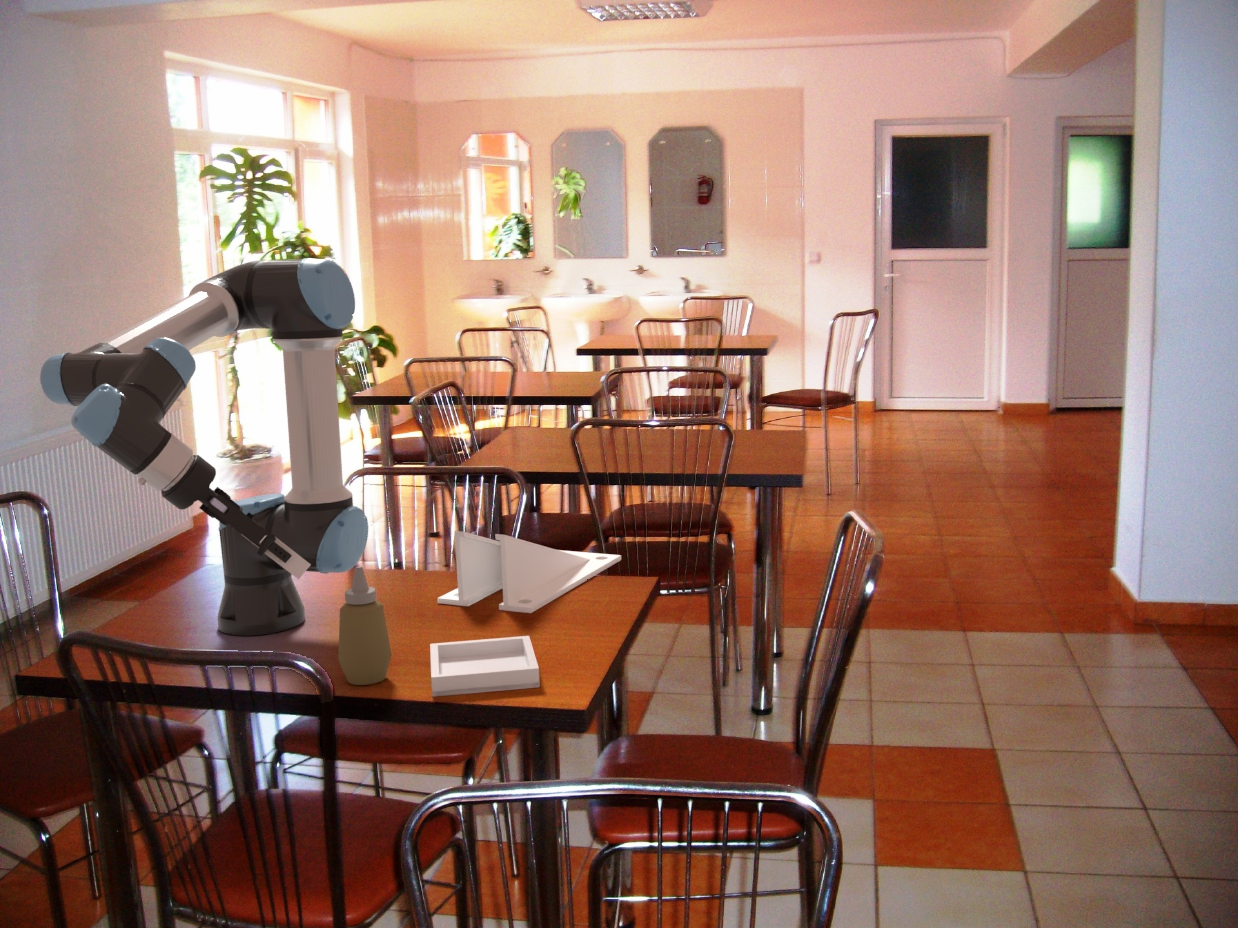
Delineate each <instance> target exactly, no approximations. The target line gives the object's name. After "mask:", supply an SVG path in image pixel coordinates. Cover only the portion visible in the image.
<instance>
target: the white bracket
mask: <svg viewBox="0 0 1238 928" xmlns="http://www.w3.org/2000/svg"><path fill="white" fill-rule="evenodd" d="M494 536H495V539H491V538H488V537H486V536H485V537H484V536H481V535H477V534H474V533H470V532H466V531H458V530H455V531H454V542H455V543H454V544H455V559H456V562H455V563H456V577H457V579H456V580H457V588H455V589H453V590H451V591H449V592H447V593H445V594H443V595H441V596H439V597H437V598H436V599H437V604H442V605H443V604H444V605H450V606H452V605H453V606H461V607H470V606H472V605H473V604H476V603H477V602H479V601H481V600H483V599H485V598H487V597H489V596H491V595H492V594H495V593H497V592H499V591H500V590H502V600H503V601H502V602H501V603H499V604H498V610H499V611H506V612H507V611H508V612H514V613H515V612H516V613H524V614H527V613H528V614H532V613H534V612H535V611H537V610H538V609H540V608H542V607H544V606H546V605H547V604H549V603H551V602H553V601H554V600H555V599H558V598H559V597H561V596H562V595H564V594H566V593H567V592H570V591H571V590H572V589H574V588H576V587H579V585H581V584H583V583H585V582H587V581H588V580H590V579H591V578H593V577H594V576H597V575H598V574H600V573H601V572H603V571H605V570H607V569H608V568H610V567H612V566H613V565H615V564H617V563H618V562H620V561H622V555H620V554H609V553H599V552H587V551H586V552H585V551H576V550H575V551H572V550H561V549H555V548H551V547H548V546H544V545H541V544H538V543H534V542H530V541H528V540H527V541H526V540H524V539H520V538H517V537H514V536H510V535H507V534H502V533H501V534H498V533H495V534H494ZM587 579H588V580H587Z"/></svg>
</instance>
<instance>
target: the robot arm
mask: <svg viewBox="0 0 1238 928" xmlns="http://www.w3.org/2000/svg"><path fill="white" fill-rule="evenodd" d="M354 292H355V291H354V287H353V286H352V282H351V280H350V278H349V277H348V274H347V273H345V271H344V269H343V268H342V267H341V266H340V265H339V264H338V263H336V262H334V261H333V260H330V259H322V258H311V257H307V258H298V259H296V258H295V259H292V258H291V259H272V260H270V259H269V260H266V259H263V260H262V259H261V260H254V261H249V262H245V263H241V264H238V265H236V266H234V267H232V268H231V267H230V268H229V269H227V270H224V271H222V272H220V273H218V274H216V275H214V276H212V277H209V278H207V279H205V280H204V281H201V282H200V283H197V284H196V285H195V286H193V287H192V289H190V292H189V294H188V296H186V297H184V298H182V299H181V300H179V301H177V302H175V303H173V304H171V305H169V306H167V307H165V308H163V309H162V310H159V311H157V312H156V313H153V314H152V315H150V316H148V317H146V318H143V319H142V320H140V321H139V322H136V323H135V324H132V325H130V326H129V327H127V328H125V329H123V330H120V331H118V332H117V333H115V334H113V335H111V336H109V337H108V338H106V339H104V340H102V341H100V342H98V343H96V344H94V345H92V346H91V345H90V346H89V347H88V348H86V349H83V350H81V351H79V352H75V353H73V352H64V353H57V354H53V355H51V356H49V357H48V358H47V359H46V360H45V361H44V362H43V364H42V366H41V370H40V374H39V381H40V385H41V389H42V391H43V393H44V396H46V397H47V399H49V400H50V401H51V402H52V403H55V404H57V405H69V406H72V407H76V409H75V410H74V412H73V413H72V415H71V420H70V421H71V422H70V423H71V425H72V427H73V428H74V429H75V430H76V432H78V433H79V434H80V435H81V436H83V438H85V440H87V441H89V443H90V444H91V445H92V446H93V447H95V448H97V449H99V450H101V451H102V452H103V453H104V454H106V455H107V456H108V457H110V458H111V459H112V460H114V461H115V462H116V463H117V464H119V465H121V466H122V467H123V468H125V469H126V470H127V471H128V472H130V473H131V474H133V475H135V477H137V478H139V479H138V481H137V484H138V485H139V486H141V487H143V486H145V484H147V486H148V487H150V488H151V489H152V490H154V491H155V492H160V491H161V497H163V499H164V500H167V502H169V503H171V505H173V506H174V507H175V508H176V509H178V510H182V511H183V510H186V509H189V508H190V507H191V506H193V505H194V503H195V502H197V501H198V502H200V503H201V504H200V506H199V507H198V509H199V510H200V511H202V512H204V513H205V515H207V516H209V517H210V518H212V519H215V520H217V521H218V523H219V525H218V531H219V539H220V541H219V542H220V550H221V560H222V570H223V580H224V587H223V592H222V596H221V601H220V605H219V609H218V613H217V625H218V626H217V628H218V630H219V631H220V632H222V633H223V634H227V635H232V636H259V635H261V636H262V635H268V634H273V633H279V632H282V631H283V632H284V631H286V630H290V629H292V628H295V627H297V626H300V625H301V624H302V623H304V621H305V620H306V614H305V605H304V603H303V600H302V598H301V596H300V594H299V592H298V590H297V587H296V585H295V581H294V580H293V577H295V578H296V579H297V580H300V579H301V577H302V576H303V575H304V574H305V573H306V572H314V573H320V574H326V575H327V574H329V573H333V574H335V573H337V574H339V573H340V574H341V573H346V572H348V571H350V570H352V569H353V568H355V566H356V565H357V564H358V562H360V560H361V558H362V555H363V554H364V552H365V549H366V546H367V542H368V538H369V522H368V517H367V516H366V514H365V512H364V510H363V509H361V508H360V507H358V506H356V505H354V502H353V493H352V491H350V490H349V489H348V488H347V487H345V485H344V484H343V483H344V482H343V467H342V465H343V464H342V447H341V433H340V420H339V417H340V415H339V402H338V401H339V400H338V387H337V386H338V385H337V382H338V381H337V370H336V367H337V366H336V353H335V349H336V346H337V345H338V344H339V343H340V342H341V341H342V340H343V336H344V335H343V329H345V328H346V327H347V326H349V325H350V324H351V323H352V321H353V318H354V316H353V315H354V314H355V311H356V310H355V309H356V298H355V293H354ZM254 329H256V330H257V329H268V330H271V332H272V334H271V335H272V341H273V342H274V343H275V344H276V345H277V346H278V347H279V348H281V351H282V358H283V371H284V372H283V373H284V385H285V387H284V388H285V401H286V403H285V404H286V414H287V415H286V417H287V428H288V429H287V430H288V443H289V456H290V457H289V459H290V460H289V461H290V476H291V489H290V490H289V491H288V493H287V494H286V495H284V494H281V493H270V494H269V493H268V494H261V495H256V496H251V497H246V498H245V497H244V498H241V499H237V500H233V499H232V498H231V496H230V495H229V493H227V492H225V491H224V490H222V489H221V487H219V486H217V487H215V489H214V490H213V489H212V488H210V486H211V484H212V483H213V482H214V480H215V478H216V475H217V470H216V468H215V467H214V466H213V465H211V464H210V463H209V462H208V461H206V460H205V458H203V457H202V456H200V455H199V454H197V455H196V454H194V452H193V449H192V448H191V447H189V446H188V445H187V444H186V443H185V442H184V441H182V440H181V439H179V438H178V437H177V436H176V435H174V434H173V433H172V432H170V431H169V430H167V429H166V428H165V427H164V426H163V425H161V422H162V421H163V419H164V418H165V416H166V415H167V414H168V412H169V411H170V409H171V408H172V406H173V405H175V402H176V401H177V400H178V399H179V397H180V396H181V394H182V393H183V392H184V391H185V390H186V389H187V386H188V384H189V382H190V380H191V379H192V377H193V375H194V374H195V372H196V368H197V367H196V365H197V364H196V361H195V358H194V356H193V355H192V353H191V352H190V351H191V349H194V348H196V347H197V346H199V345H202V344H203V343H204V342H206V341H208V340H209V339H211V338H213V337H218V338H221V337H222V338H223V337H228V336H229V335H230V334H233V333H235V332H238V331H241V330H244V331H245V330H254ZM193 454H194V455H193ZM292 576H293V577H292Z"/></svg>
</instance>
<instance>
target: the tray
mask: <svg viewBox="0 0 1238 928" xmlns="http://www.w3.org/2000/svg"><path fill="white" fill-rule="evenodd" d="M429 647H430V648H429V650H430V651H429V652H430V654H429V655H430V674H431V675H430V677H431V678H430V679H431V695H432V697H433V698H434V697H435V698H436V697H444V696H456V695H467V694H478V693H489V692H500V691H511V690H521V689H522V690H525V689H534V688H535V689H536V688H540V686H541V685H540V684H541V683H540V668H539V663H538V660H537V658H536V655H535V651H534V648H533V644H532V641H531V638H530V635H522V636H509V637H499V638H498V637H497V638H485V639H484V638H483V639H474V640H473V639H471V640H470V639H469V640H460V641H449V642H448V641H447V642H436V643H429Z"/></svg>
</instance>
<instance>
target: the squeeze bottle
mask: <svg viewBox="0 0 1238 928" xmlns="http://www.w3.org/2000/svg"><path fill="white" fill-rule="evenodd" d="M344 600H345V603H343V605H342V606H341V607H340V609H339V624H338V625H339V627H338V629H339V631H338V632H339V633H338V663H339V665H340V668H341V669H342V671H343V675H344V676H345V679H346V681H347V683H349V684H351V685H356V686H367V685H375V684H378V683H380V682H382V681H384V680H385V679H386V677H387V674H388V669H389V666H390V664H391V663H390V662H391V658H392V648H391V644H390V638H389V631H388V626H387V621H386V615H385V610H384V605H383V604H382V602H380V601H379V600H377V590H376V588H375V587H373V586H369V584H368V580H367V577H366V575H365V571H364V568H363V566H356V567H355V566H354V571H353V577H352V584H351V587H350V588H349V589H346V590H345V592H344Z"/></svg>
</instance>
